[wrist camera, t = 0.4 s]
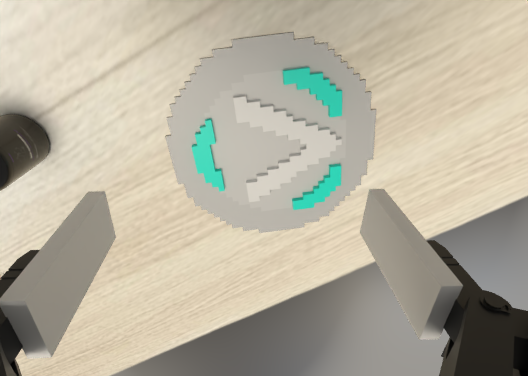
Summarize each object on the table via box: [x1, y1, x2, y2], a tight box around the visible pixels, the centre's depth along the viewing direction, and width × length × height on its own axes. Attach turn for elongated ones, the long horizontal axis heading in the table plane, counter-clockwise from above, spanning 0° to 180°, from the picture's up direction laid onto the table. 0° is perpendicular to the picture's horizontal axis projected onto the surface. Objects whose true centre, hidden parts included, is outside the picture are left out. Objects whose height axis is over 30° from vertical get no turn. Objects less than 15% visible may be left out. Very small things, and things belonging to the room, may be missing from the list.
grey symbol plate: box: [165, 32, 376, 233], centre depth 44 cm, size 28×28×2 cm
